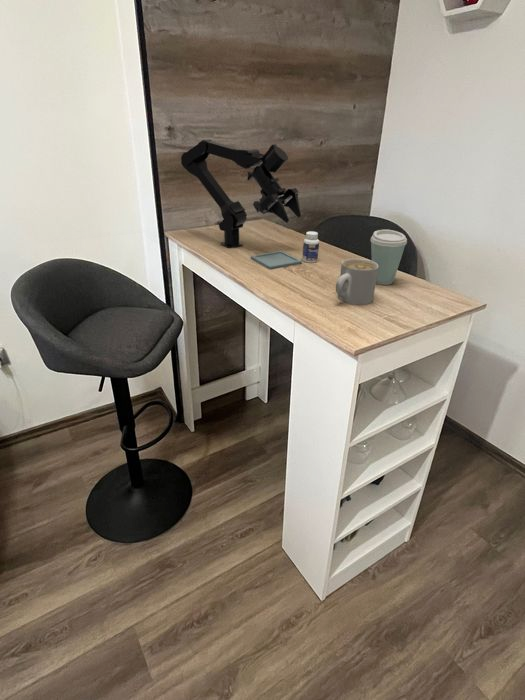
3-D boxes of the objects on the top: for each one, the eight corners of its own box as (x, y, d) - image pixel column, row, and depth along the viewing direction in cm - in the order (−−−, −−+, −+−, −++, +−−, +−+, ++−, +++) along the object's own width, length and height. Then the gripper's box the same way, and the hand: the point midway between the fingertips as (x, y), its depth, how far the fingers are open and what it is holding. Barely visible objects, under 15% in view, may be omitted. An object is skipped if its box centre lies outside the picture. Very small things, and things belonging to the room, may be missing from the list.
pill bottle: (307, 263, 146) (309, 235, 141) (299, 259, 150) (301, 231, 145) (320, 261, 148) (323, 234, 143) (312, 257, 152) (314, 230, 147)
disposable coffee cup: (406, 285, 130) (416, 236, 123) (377, 289, 126) (386, 239, 119) (385, 273, 139) (393, 227, 131) (357, 277, 135) (364, 230, 127)
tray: (250, 258, 149) (250, 255, 149) (281, 253, 155) (281, 250, 155) (269, 269, 140) (269, 266, 139) (301, 263, 146) (302, 260, 145)
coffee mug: (357, 289, 127) (362, 256, 121) (380, 301, 119) (386, 267, 114) (320, 296, 121) (324, 263, 116) (342, 310, 113) (347, 274, 108)
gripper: (265, 193, 157) (290, 228, 157) (238, 201, 143) (265, 239, 143) (285, 172, 149) (311, 208, 150) (258, 179, 135) (287, 218, 136)
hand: (294, 219), depth 145 cm, fingers open, 9 cm apart
